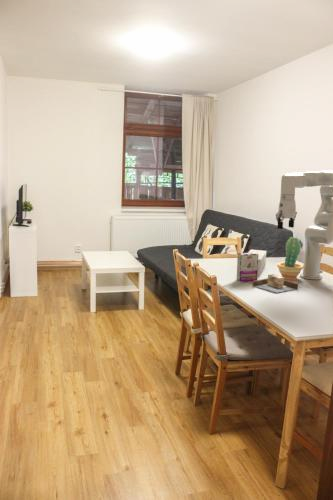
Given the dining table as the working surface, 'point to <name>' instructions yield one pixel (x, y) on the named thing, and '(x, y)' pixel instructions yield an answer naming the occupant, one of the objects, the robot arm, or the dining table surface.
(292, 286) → the corner arena
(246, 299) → the dining table surface
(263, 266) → the stack of papers
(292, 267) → the potted cactus
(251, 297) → the dining table surface
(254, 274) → the candy bar box
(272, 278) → the maple block
